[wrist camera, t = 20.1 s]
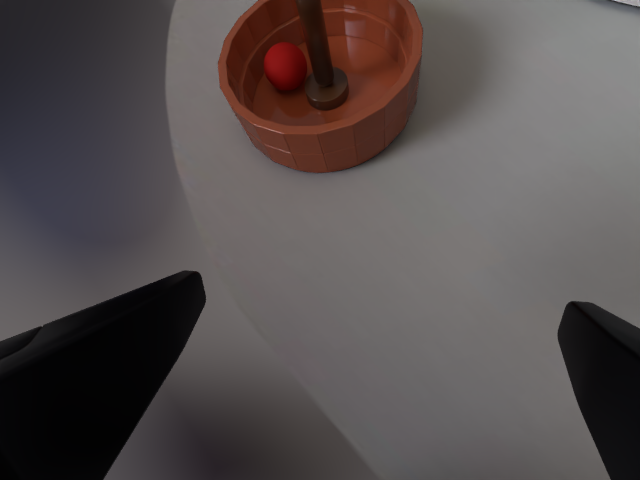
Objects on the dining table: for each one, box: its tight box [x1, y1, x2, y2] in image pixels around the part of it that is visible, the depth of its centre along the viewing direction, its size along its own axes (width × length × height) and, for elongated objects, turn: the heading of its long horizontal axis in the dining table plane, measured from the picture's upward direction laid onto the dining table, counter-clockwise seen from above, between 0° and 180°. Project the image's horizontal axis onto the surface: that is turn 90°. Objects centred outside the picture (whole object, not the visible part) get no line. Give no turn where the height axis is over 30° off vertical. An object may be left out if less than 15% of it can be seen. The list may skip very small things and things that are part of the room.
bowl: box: [218, 0, 423, 173], centre depth 24 cm, size 13×13×5 cm
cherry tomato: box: [264, 42, 307, 91], centre depth 25 cm, size 3×3×3 cm
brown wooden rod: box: [295, 0, 349, 111], centre depth 20 cm, size 3×3×13 cm
